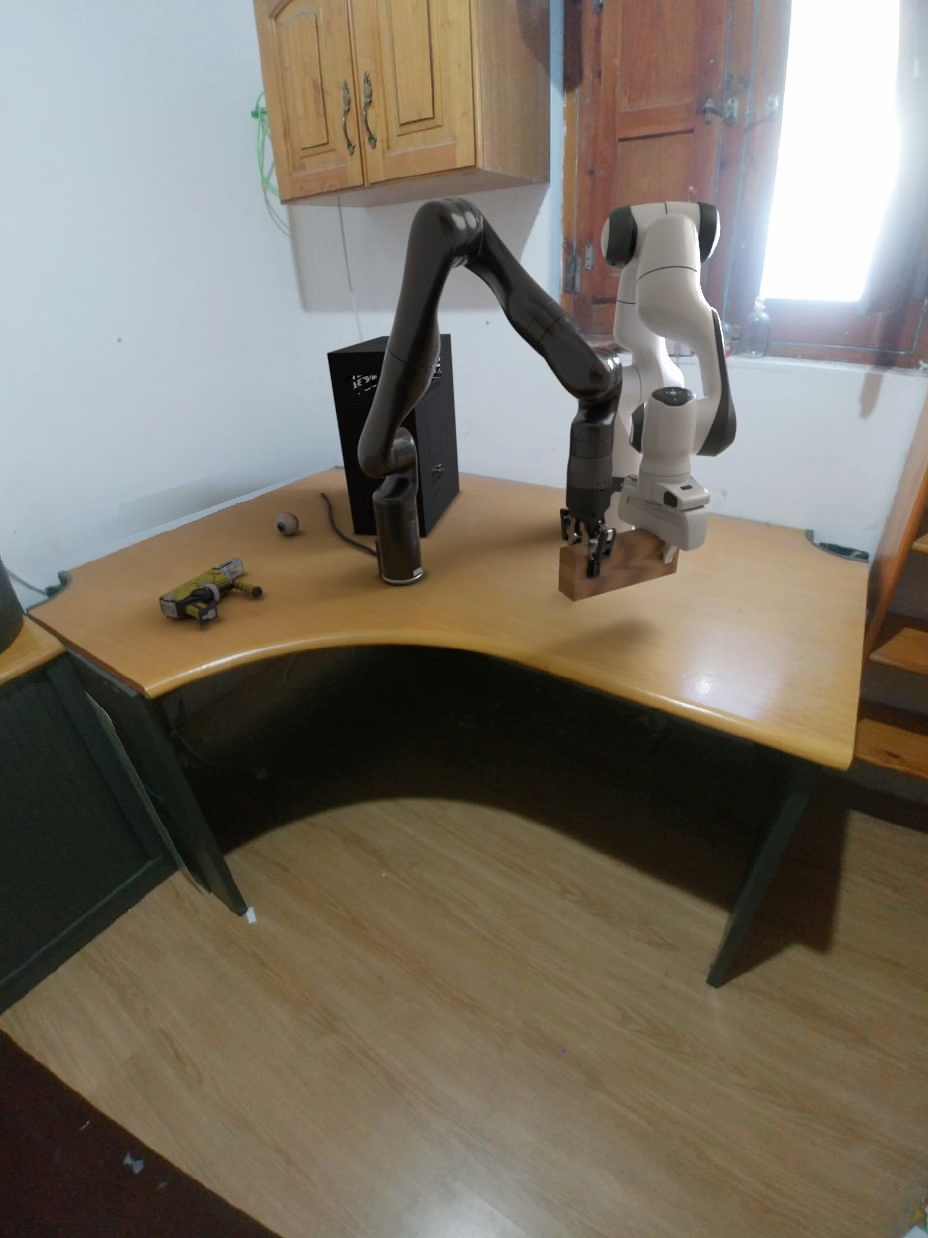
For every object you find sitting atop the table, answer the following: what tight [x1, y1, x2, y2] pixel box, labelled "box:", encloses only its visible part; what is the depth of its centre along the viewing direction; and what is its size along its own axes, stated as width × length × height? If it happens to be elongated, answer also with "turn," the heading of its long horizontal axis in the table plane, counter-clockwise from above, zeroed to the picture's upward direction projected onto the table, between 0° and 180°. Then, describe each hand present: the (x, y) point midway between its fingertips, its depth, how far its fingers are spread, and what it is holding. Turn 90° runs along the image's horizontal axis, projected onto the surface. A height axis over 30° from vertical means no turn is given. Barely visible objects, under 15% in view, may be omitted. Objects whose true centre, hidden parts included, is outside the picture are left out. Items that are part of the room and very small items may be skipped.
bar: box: [557, 528, 680, 602], centre depth 112 cm, size 23×5×9 cm, turn 115°
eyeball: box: [275, 511, 300, 536], centre depth 163 cm, size 6×6×6 cm
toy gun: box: [158, 557, 263, 626], centre depth 132 cm, size 5×24×15 cm
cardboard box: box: [326, 333, 460, 538], centre depth 165 cm, size 38×20×45 cm, turn 167°
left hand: (583, 571), depth 109 cm, fingers closed on bar, 5 cm apart
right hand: (654, 555), depth 115 cm, fingers closed on bar, 5 cm apart
